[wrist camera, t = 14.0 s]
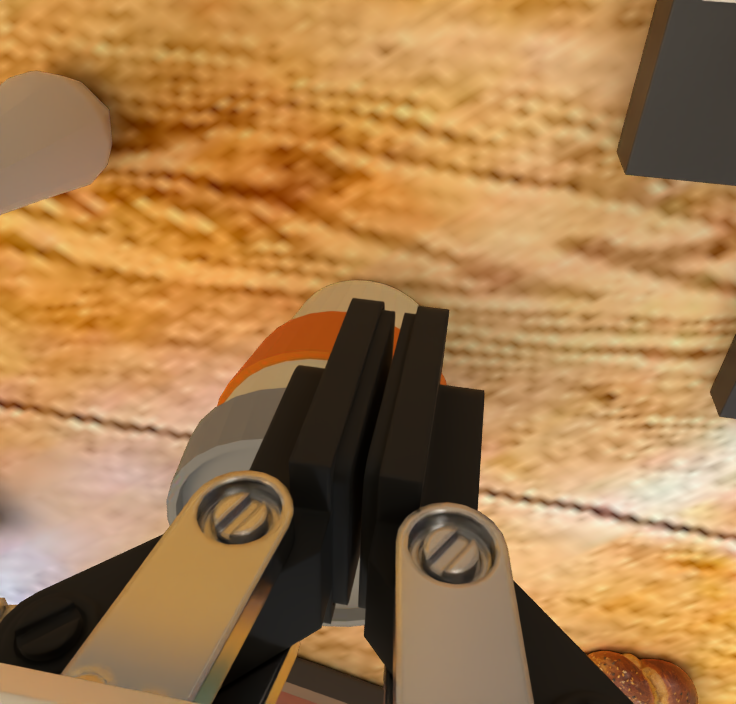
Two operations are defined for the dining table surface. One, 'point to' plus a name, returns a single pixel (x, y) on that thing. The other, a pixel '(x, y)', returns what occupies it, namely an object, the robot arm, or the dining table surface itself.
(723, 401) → the block
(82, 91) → the salt shaker
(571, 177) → the dining table surface
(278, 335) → the reusable coffee cup
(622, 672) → the braided bread roll
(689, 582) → the dining table surface
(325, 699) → the toaster
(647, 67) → the fryer panel
